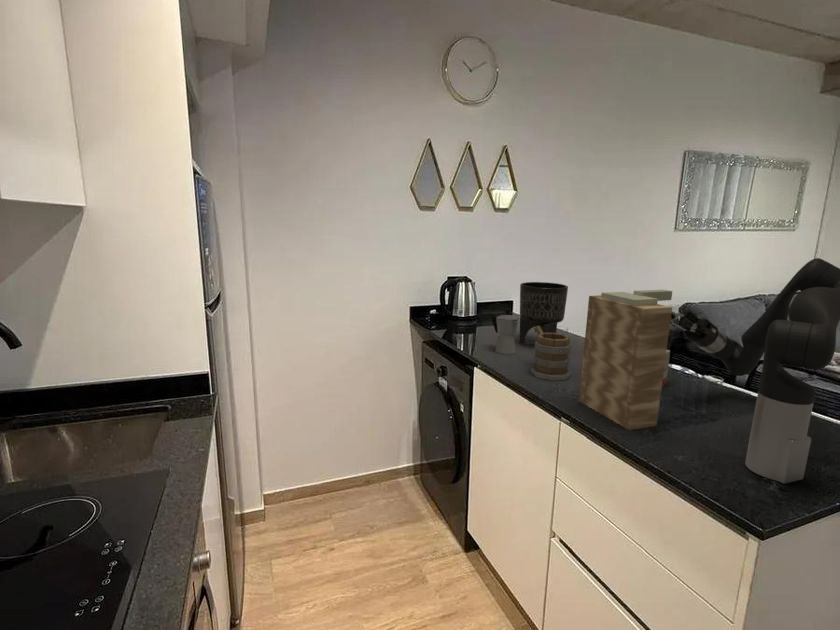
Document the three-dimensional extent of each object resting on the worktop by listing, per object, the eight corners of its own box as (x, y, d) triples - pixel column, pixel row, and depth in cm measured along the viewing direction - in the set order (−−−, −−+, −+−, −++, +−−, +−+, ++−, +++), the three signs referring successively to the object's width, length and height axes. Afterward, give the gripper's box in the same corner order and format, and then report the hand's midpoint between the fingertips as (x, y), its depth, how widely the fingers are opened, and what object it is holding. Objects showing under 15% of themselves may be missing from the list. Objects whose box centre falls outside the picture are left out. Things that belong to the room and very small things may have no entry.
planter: (539, 337, 210) (543, 281, 205) (572, 347, 194) (578, 286, 189) (507, 342, 200) (510, 283, 195) (539, 353, 184) (544, 289, 179)
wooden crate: (656, 425, 120) (672, 307, 113) (629, 430, 117) (644, 308, 111) (603, 398, 138) (614, 294, 132) (579, 401, 135) (589, 295, 129)
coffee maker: (524, 354, 183) (527, 310, 180) (508, 357, 178) (511, 312, 175) (498, 345, 195) (500, 304, 192) (483, 348, 191) (485, 306, 187)
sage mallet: (685, 303, 120) (686, 293, 120) (634, 305, 114) (635, 296, 114) (649, 295, 131) (650, 287, 131) (601, 298, 126) (601, 289, 125)
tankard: (576, 380, 154) (580, 337, 151) (541, 381, 152) (544, 338, 149) (550, 362, 173) (553, 324, 170) (518, 363, 171) (521, 324, 168)
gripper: (690, 319, 140) (659, 295, 134) (735, 330, 127) (702, 303, 121) (678, 340, 140) (646, 317, 134) (722, 353, 127) (688, 328, 121)
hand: (673, 310), depth 127 cm, fingers open, 8 cm apart
